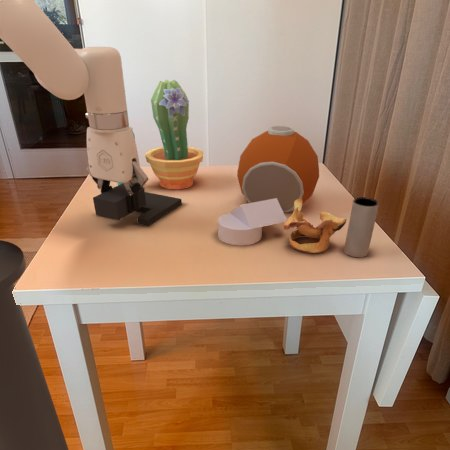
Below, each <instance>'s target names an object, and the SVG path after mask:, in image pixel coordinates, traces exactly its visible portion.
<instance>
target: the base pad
mask: <svg viewBox="0 0 450 450" xmlns="http://www.w3.org/2000/svg"><path fill="white" fill-rule="evenodd" d="M145 199H146V205H145V206H143V207H141V208H139V209H138V210H136V211H135V213H136V212H137V213H140V214H141V215H139V216H137V217H136V220H137V224H138V225H141V226H144V227H150V226H151V225H153V224H154V223H156V222H158V221H159V220H160V219H162V218H163V217H165V216H167V215H169V214H170V213H171V212H173V211H174V210H176V209H178V208H180V207H181V206H182V205H183V202H182V201H183V200H182V198H179V197H173V196H168V195H163V194H158V193H152V192H148V191H145Z"/></svg>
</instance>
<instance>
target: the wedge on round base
mask: <svg viewBox="0 0 450 450" xmlns="http://www.w3.org/2000/svg"><path fill="white" fill-rule="evenodd" d="M286 221H288V219H287V217H286V215H285V212H283V211H282V208H281V206H280V204H279V202H278V200H277V198H274V199H269V200H264V201H259V202H253V203H249V202H248V203H243V204H239V205H238V206H237V207H236V208H234V209H233V210H231V211H230V212H228V213H225V214H222V215H220V216H219V217H218V219H217V237H218V239H219V241H221V242H223V243H225V244H227V245H232V246H238V247H239V246H240V247H241V246H249V245H250V246H251V245H253V244H256V243H258V242H259V241H260V240H261V239H262V232H263V227H267V226H272V225H276V224H281V223H284V222H286Z"/></svg>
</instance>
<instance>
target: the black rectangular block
mask: <svg viewBox="0 0 450 450" xmlns="http://www.w3.org/2000/svg"><path fill="white" fill-rule="evenodd" d="M131 187H132V185H131ZM145 192H146V191H145V187H144V186H143V187H142V188H141V189H140V191H139V192H138V200H139V208H141V207H143V206H145V205H146V199H145ZM126 195H128V193H127V190H126V188H125V186H124V184H120V185H118V184H117V185H116V186H114V187H112V189H110V190H108V191H106V192H104V193H102V194H101V193H99V194H98V195H95V196H93V197H92V200H93V207H94V212H95V216H97V217H101V218H105V219H108V220H109V219H110V220H112V221H113V220H114V221H120V220H122V219H124V218H126V217H127V216H130V215H131V214H132V213H129V212H128V207H127V199H126Z"/></svg>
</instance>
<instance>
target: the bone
mask: <svg viewBox="0 0 450 450" xmlns="http://www.w3.org/2000/svg"><path fill="white" fill-rule="evenodd" d="M302 207H303V205H302V199H301V198H299V199H297V200H296V201H295V202H294V211H292V214H291V215H290V217H289V218H288V219H287V221H286V222H283V230H284V231H285V230H289V229H294V228H296V229H295V230H293V231H292V232H291V233H290V237H289V240H288V243H289V247H290V248H292V249H294V250H297V251H300V252H302V253H307V254H308V253H309V254H310V255H311V254H319V253H320V254H323V253H324V252H326V251H328V249H330V239H331V237H332V236H333V235H335V233H337V232H338V231H340V230H342V229H343V227H344V226H345V225H346V223H347V218H339V217H336V216H335V215H333V214H332V213H330V212H328V211H320V212H319V213H318V215H319V219H320V220H321V223H319V224H318V225H317V226H316V227H314V224H311V223H310V222H309V221H307V220H306V219H305V218H304V215H305V214H304V213H303V212H302ZM302 237H306V238H309V239H318V240H319V241H318V242H312V243H311V242H310V243H307V242H306V243H301V244H300V243H298V242H297V241H295V240H294V239H297V238H302Z"/></svg>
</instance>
